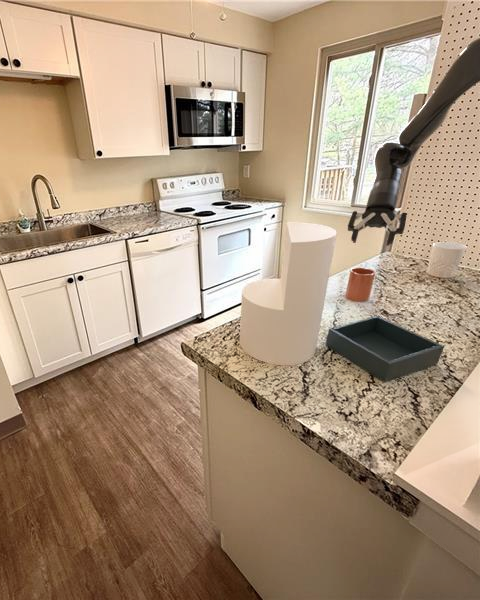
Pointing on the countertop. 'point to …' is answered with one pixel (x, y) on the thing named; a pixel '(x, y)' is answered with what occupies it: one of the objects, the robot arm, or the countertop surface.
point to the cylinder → (289, 299)
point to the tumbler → (360, 284)
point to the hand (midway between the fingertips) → (370, 243)
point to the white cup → (445, 259)
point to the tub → (383, 348)
